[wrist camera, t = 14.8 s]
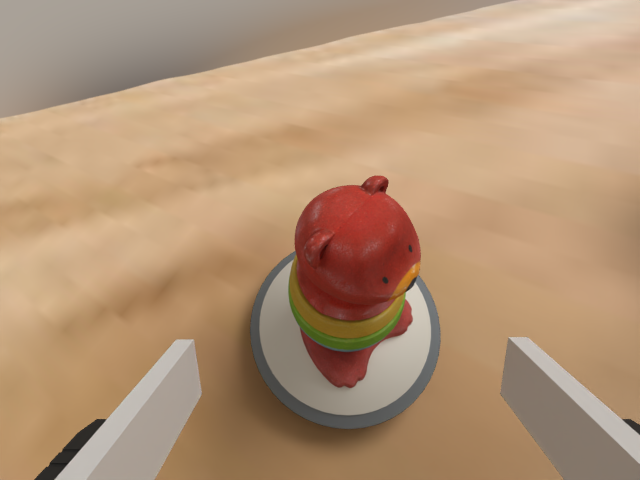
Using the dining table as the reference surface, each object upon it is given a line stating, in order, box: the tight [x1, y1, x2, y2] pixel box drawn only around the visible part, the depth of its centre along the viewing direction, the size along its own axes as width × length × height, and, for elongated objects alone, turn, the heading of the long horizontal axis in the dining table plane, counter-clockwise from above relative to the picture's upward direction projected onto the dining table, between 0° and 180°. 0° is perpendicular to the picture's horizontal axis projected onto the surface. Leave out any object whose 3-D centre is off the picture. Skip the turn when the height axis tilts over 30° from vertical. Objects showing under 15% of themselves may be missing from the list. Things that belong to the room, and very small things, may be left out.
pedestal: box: [250, 251, 440, 429], centre depth 32 cm, size 19×19×4 cm
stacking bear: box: [288, 176, 421, 388], centre depth 22 cm, size 11×10×18 cm
